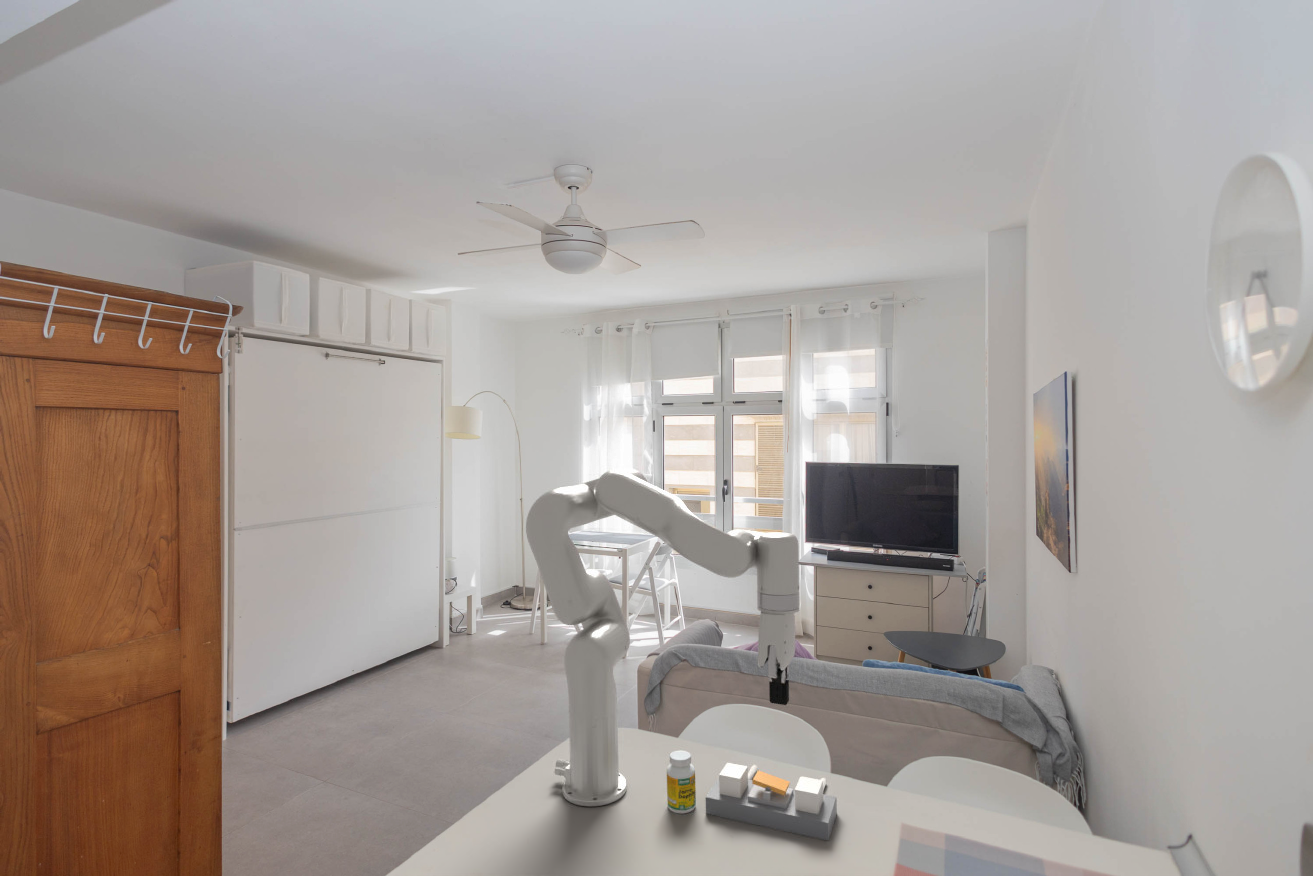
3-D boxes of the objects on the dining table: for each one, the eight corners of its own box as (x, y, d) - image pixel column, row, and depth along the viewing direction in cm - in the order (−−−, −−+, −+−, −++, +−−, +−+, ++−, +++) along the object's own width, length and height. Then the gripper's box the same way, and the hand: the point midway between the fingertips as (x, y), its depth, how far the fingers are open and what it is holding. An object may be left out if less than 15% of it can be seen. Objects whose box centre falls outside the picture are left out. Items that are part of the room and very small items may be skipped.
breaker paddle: (751, 786, 119) (752, 779, 119) (757, 776, 122) (758, 769, 122) (783, 798, 116) (784, 792, 116) (788, 788, 120) (789, 781, 120)
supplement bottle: (684, 796, 126) (683, 745, 126) (701, 808, 121) (700, 756, 122) (661, 804, 123) (660, 753, 123) (678, 818, 118) (677, 764, 119)
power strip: (705, 813, 120) (705, 777, 120) (736, 766, 137) (736, 735, 137) (828, 841, 111) (827, 802, 111) (844, 786, 128) (844, 753, 128)
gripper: (768, 591, 127) (769, 685, 127) (746, 608, 114) (747, 714, 113) (807, 594, 124) (808, 691, 124) (789, 613, 111) (790, 722, 110)
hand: (779, 702), depth 119 cm, fingers closed
